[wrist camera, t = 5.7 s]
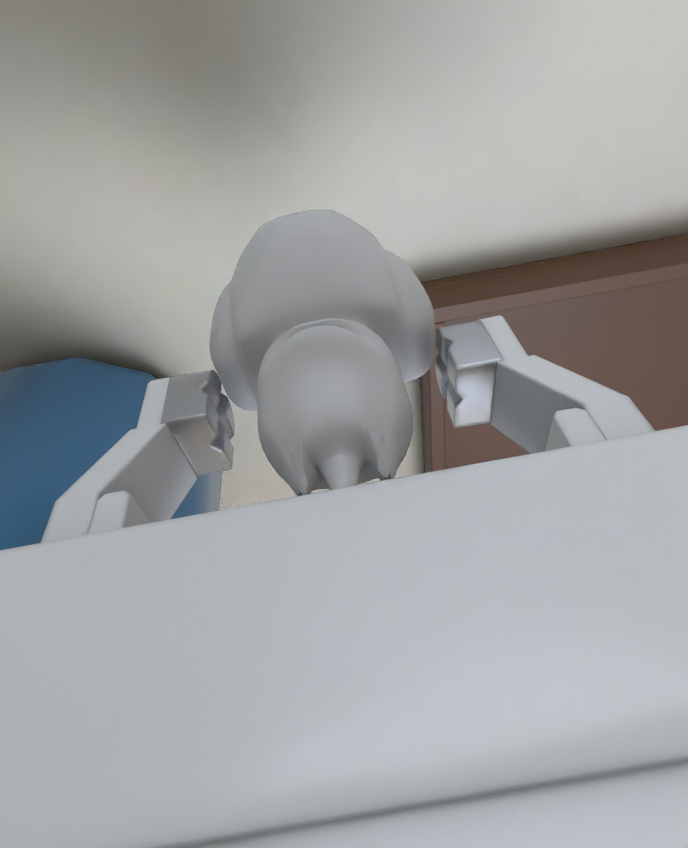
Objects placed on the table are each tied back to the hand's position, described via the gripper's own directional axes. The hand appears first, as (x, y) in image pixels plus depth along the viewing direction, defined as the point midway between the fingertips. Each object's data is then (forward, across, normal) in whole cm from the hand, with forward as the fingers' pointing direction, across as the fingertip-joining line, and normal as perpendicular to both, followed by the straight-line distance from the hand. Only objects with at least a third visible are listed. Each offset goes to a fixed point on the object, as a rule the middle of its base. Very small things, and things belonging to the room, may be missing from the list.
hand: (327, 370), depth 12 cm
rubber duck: (+3, 0, 0) cm, 3 cm away
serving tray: (+11, -14, +14) cm, 23 cm away
